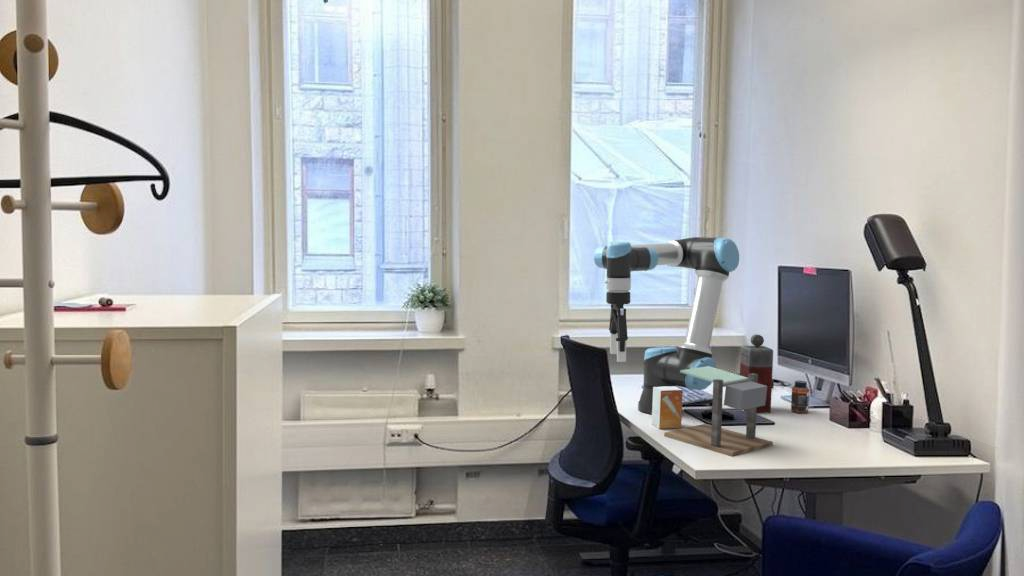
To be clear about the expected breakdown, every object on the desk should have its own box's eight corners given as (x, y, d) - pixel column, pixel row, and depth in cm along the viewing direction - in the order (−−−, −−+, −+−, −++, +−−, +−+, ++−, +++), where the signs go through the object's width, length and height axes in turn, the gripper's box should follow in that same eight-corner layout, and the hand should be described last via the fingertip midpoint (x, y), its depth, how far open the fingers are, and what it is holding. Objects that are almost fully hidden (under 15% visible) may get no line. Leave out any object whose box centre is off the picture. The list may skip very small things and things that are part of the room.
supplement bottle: (811, 413, 277) (813, 382, 276) (798, 414, 275) (799, 383, 275) (800, 409, 283) (802, 379, 282) (787, 410, 281) (788, 380, 280)
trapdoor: (706, 385, 250) (708, 365, 249) (767, 404, 232) (769, 383, 231) (678, 390, 242) (680, 369, 241) (738, 410, 224) (740, 388, 223)
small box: (659, 429, 251) (660, 390, 250) (651, 424, 258) (652, 386, 257) (681, 428, 253) (683, 389, 252) (673, 423, 260) (674, 385, 259)
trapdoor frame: (705, 427, 255) (707, 364, 253) (772, 445, 234) (775, 377, 233) (664, 436, 243) (666, 370, 241) (731, 456, 222) (734, 384, 221)
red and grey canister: (759, 405, 288) (762, 332, 286) (771, 413, 277) (774, 336, 275) (736, 405, 287) (738, 332, 285) (746, 413, 276) (749, 336, 274)
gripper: (600, 287, 253) (600, 350, 255) (612, 295, 228) (612, 365, 230) (623, 287, 253) (622, 350, 255) (637, 295, 229) (637, 365, 230)
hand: (617, 357), depth 243 cm, fingers open, 13 cm apart
